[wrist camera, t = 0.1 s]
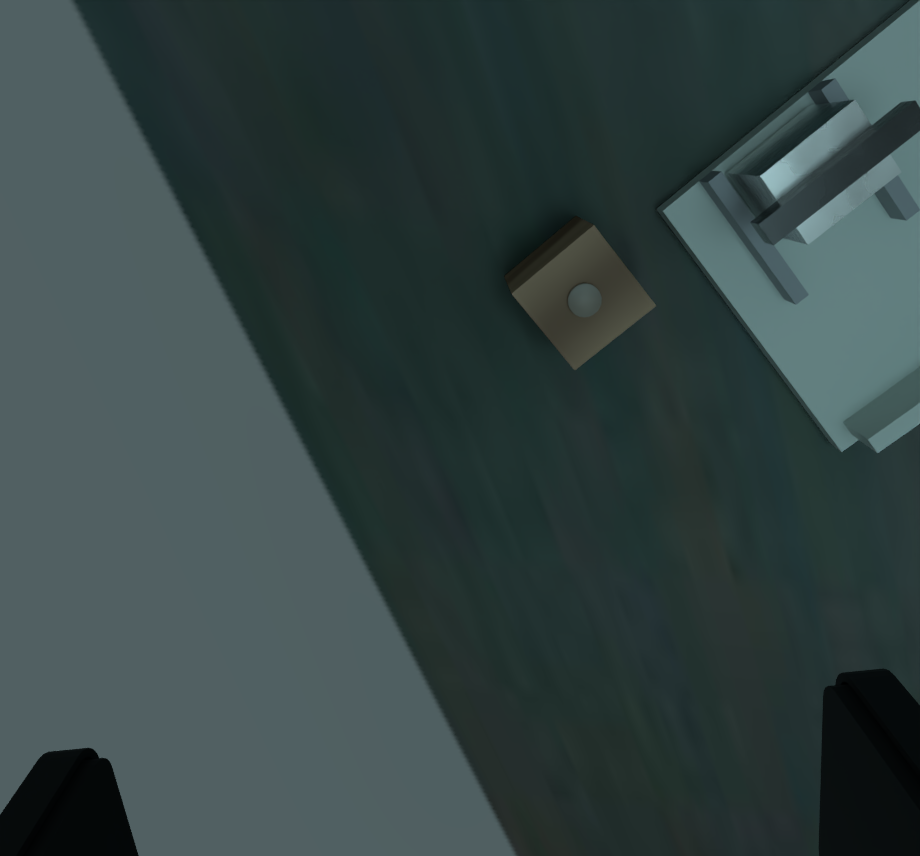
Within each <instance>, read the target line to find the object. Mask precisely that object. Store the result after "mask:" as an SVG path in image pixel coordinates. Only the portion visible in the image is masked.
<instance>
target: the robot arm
mask: <svg viewBox="0 0 920 856" xmlns="http://www.w3.org/2000/svg"><path fill="white" fill-rule="evenodd" d="M0 856H138V852H137V849H136V846H135V843H134V839H133V836H132V832H131V829H130V826H129V822H128V819H127V815H126V812H125V809H124V805H123V802H122V799H121V795H120V792H119V789H118V785H117V782H116V779H115V775H114V772H113V769H112V766H111V763H110V762H109V760H108V759H106V758H99V757H98V755H97V753H96V752H95V751H94V750H93V749H91V748H83V749H73V750H63V751H53V752H47V753H45V754H43V755H42V756H41V757H40V758H39V759H38V761H37V762H36V764H35V765H34V766H33V768H32V770H31V771H30V772H29V774H28V775H27V777H26V778H25V780H24V781H23V782H22V784H21V785H20V787H19V788H18V790H17V791H16V793H15V794H14V796H13V797H12V798H11V800H10V801H9V803H8V804H7V806H6V807H5V809H4V810H3V812H2V813H1V814H0ZM819 856H920V705H919V704H918V703H917V702H916V700H915V699H914V698H913V697H912V696H911V695H910V693H909V692H908V691H907V690H906V689H905V687H904V686H903V685H902V684H901V683H900V682H899V680H898V679H897V678H896V677H895V676H894V675H893V674H892V673H891V672H890V671H889V670H886V669H875V670H865V671H855V672H845V673H841V674H839V675H838V677H837V679H836V685H834V686H827V687H826V688H825V690H824V695H823V722H822V756H821V790H820V823H819Z"/></svg>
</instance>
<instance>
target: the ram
mask: <svg viewBox="0 0 920 856" xmlns="http://www.w3.org/2000/svg"><path fill="white" fill-rule="evenodd" d="M919 131H920V107H919V105H918V104H917V102H916V100H914V101H905V102H900V103H899V104H898V105H897V106H895V107H894V108H893V109H892V110H890V111H889V112H888V113H887V114H885V115H884V116H883V117H882V118H880V119H879V120H878V121H877V122H875V123H874V124H873V125H871V124H870V122H869V120H868V119H867V117H866V116H865V114H864V113H863V111H862V110H861V108H860V106H859V105H858V103H857V102H856V100H848V101H840V102H833V103H825V104H817V105H810V106H808V107H807V108H805V109H804V110H803V111H802V112H800V113H799V114H798V115H797V116H795V117H794V118H793V119H792V120H791V121H789V122H788V123H787V124H786V125H784V126H783V127H782V128H781V129H780V130H778V131H777V132H776V133H775V134H773V135H772V136H771V137H770V138H769V139H767V140H766V141H765V142H764V143H762V144H761V145H760V146H759V147H757V148H756V149H755V150H754V151H753V152H751V153H750V154H749V155H748V156H746V157H745V158H744V159H743V160H742V161H740V162H739V163H738V164H737V165H735V166H734V167H733V168H732V169H731V170H729V171H728V172H727V173H726V175H727V176H728V177H729V179H730V180H731V182H732V183H733V184H734V186H735V187H736V189H737V190H738V192H739V193H740V194H741V196H742V197H743V199H744V200H745V201H746V203H747V204H748V206H749V207H750V208H751V210H752V211H753V213H754V214H755V216H756V218H755V219H753V220H752V221H751V222H750V223H751V225H752V226H753V227H754V229H755V230H756V232H757V233H758V234H759V236H760V237H761V239H762V240H763V241H764V243H767V244H771V245H775V244H776V243H777V242H779V241H780V240H781V239H783V238H784V239H788V240H791V241H795V242H799V243H803V244H807V245H808V244H810V243H811V242H812V241H814V240H815V239H816V238H817V237H819V236H820V235H821V234H823V233H824V232H825V231H826V230H828V229H829V228H830V227H832V226H833V225H834V224H836V223H837V222H838V221H839V220H841V219H842V218H843V217H845V216H846V215H847V214H848V213H850V212H851V211H852V210H854V209H855V208H856V207H857V206H859V205H860V204H861V203H863V202H864V201H865V200H866V199H868V198H869V197H870V196H872V195H873V194H874V193H875V192H877V191H878V190H879V189H881V188H882V187H883V186H884V185H886V184H887V183H888V182H890V181H891V180H892V179H893V178H895V177H896V176H897V175H899V174H900V173H901V170H900V169H899V167H898V166H897V164H896V162H895V161H894V159H893V158H892V156H891V155H890V154H891V153H892V152H894V151H895V150H896V149H897V148H899V147H900V146H901V145H902V144H904V143H905V142H906V141H908V140H909V139H910V138H911V137H913V136H914V135H915V134H917V133H918V132H919Z"/></svg>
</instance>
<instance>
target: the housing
mask: <svg viewBox="0 0 920 856" xmlns="http://www.w3.org/2000/svg"><path fill="white" fill-rule="evenodd" d="M504 277H505V279H506V282H507V284H508V287H509V289H510V291H511V294H512V295H513V296H514V297H515V299H516V300H517V301H518V302H519V303H520V305H521V306H522V307H523V308H524V309H525V311H526V312H527V313H528V314H529V316H530V317H531V318H532V319H533V320H534V322H535V323H536V324H537V325H538V326H539V328H540V329H541V330H542V331H543V333H544V334H545V335H546V336H547V337H548V339H549V340H550V341H551V342H552V343H553V345H554V346H555V347H556V348H557V349H558V351H559V352H560V353H561V354H562V356H563V357H564V358H565V359H566V360H567V362H568V363H569V364H570V365H571V366H572V368H573V369H574V370H576V369H577V368H578V367H580V366H581V365H582V364H583V363H585V362H586V361H587V360H588V359H590V358H591V357H592V356H594V355H595V354H596V353H597V352H599V351H600V350H601V349H602V348H604V347H605V346H606V345H607V344H609V343H610V342H611V341H612V340H614V339H615V338H616V337H617V336H619V335H620V334H621V333H623V332H624V331H625V330H626V329H628V328H629V327H630V326H631V325H633V324H634V323H635V322H636V321H638V320H639V319H640V318H641V317H643V316H644V315H645V314H646V313H648V312H649V311H650V310H652V309H653V308H654V307H655V306H656V305H655V303H654V302H653V301H652V300H651V298H650V297H649V296H648V294H647V293H646V292H645V291H644V289H643V288H642V287H641V285H640V284H639V283H638V281H637V280H636V279H635V278H634V276H633V275H632V274H631V272H630V271H629V270H628V269H627V267H626V266H625V265H624V263H623V262H622V261H621V259H620V258H619V257H618V256H617V254H616V253H615V252H614V250H613V249H612V248H611V246H610V245H609V244H608V243H607V241H606V240H605V239H604V237H603V236H602V235H601V234H600V232H599V231H598V230H597V228H596V227H595V226H594V225H593V224H591V223H589V222H587V221H585V220H583V219H581V218H579V217H577V216H575V217H574V218H573V219H572V220H570V221H569V222H568V223H567V224H566V225H564V226H563V227H562V228H561V229H560V230H558V231H557V232H556V233H555V234H554V235H553V236H551V237H550V238H549V239H548V240H547V241H545V242H544V243H543V244H542V245H541V246H539V247H538V248H537V249H536V250H535V251H533V252H532V253H531V254H530V255H529V256H528V257H526V258H525V259H524V260H523V261H522V262H520V263H519V264H518V265H517V266H516V267H514V268H513V269H512V270H511V271H510V272H508V273H507V274H506V275H505V276H504Z"/></svg>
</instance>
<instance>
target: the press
mask: <svg viewBox="0 0 920 856" xmlns="http://www.w3.org/2000/svg"><path fill="white" fill-rule="evenodd" d="M848 100H856V102H857V103H858V105H859V106H860V108H861V110H862V111H863V113H864V114H865V116H866V117H867V119H868V120H869V122H870V124H871V125H873V124H874V123H875V122H877V121H878V120H879V119H880V118H882V117H883V116H884V115H885V114H887V113H888V112H889V111H890V110H892V109H893V108H894V107H895V106H897V105H898V104H899V103H900V102H905V101H914V100H916V102H917V104H918V105H919V107H920V0H910V1H909V2H908V3H906V4H905V5H904V6H903V7H901V8H900V9H899V10H898V11H897V12H895V13H894V14H893V15H892V16H890V17H889V18H888V19H887V20H886V21H884V22H883V23H882V24H881V25H880V26H878V27H877V28H876V29H875V30H873V31H872V32H871V33H870V34H869V35H867V36H866V37H865V38H864V39H862V40H861V41H860V42H859V43H858V44H856V45H855V46H854V47H853V48H852V49H850V50H849V51H848V52H847V53H845V54H844V55H843V56H842V57H841V58H839V59H838V60H837V61H836V62H835V63H833V64H832V65H831V66H830V67H828V68H827V69H826V70H825V71H824V72H822V73H821V74H820V75H819V76H817V77H816V78H815V79H814V80H813V81H811V82H810V83H809V84H808V85H807V86H805V87H804V88H803V89H802V90H800V91H799V92H798V93H797V94H796V95H794V96H793V97H792V98H791V99H789V100H788V101H787V102H786V103H785V104H783V105H782V106H781V107H780V108H779V109H777V110H776V111H775V112H774V113H772V114H771V115H770V116H769V117H768V118H766V119H765V120H764V121H763V122H762V123H760V124H759V125H758V126H757V127H755V128H754V129H753V130H752V131H751V132H749V133H748V134H747V135H746V136H744V137H743V138H742V139H741V140H740V141H738V142H737V143H736V144H735V145H734V146H732V147H731V148H730V149H729V150H727V151H726V152H725V153H724V154H723V155H721V156H720V157H719V158H718V159H716V160H715V161H714V162H713V163H712V164H710V165H709V166H708V167H707V168H706V169H704V170H703V171H702V172H701V173H699V174H698V175H697V176H696V177H695V178H693V179H692V180H691V181H690V182H689V183H687V184H686V185H685V186H684V187H682V188H681V189H680V190H679V191H678V192H676V193H675V194H674V195H673V196H671V197H670V198H669V199H668V200H667V201H665V202H664V203H663V204H662V205H661V206H659V207H658V208H657V209H656V210H657V211H658V212H659V214H660V215H661V216H662V218H663V219H664V221H665V222H666V223H667V225H668V226H669V227H670V229H671V230H672V231H673V233H674V234H675V235H676V237H677V238H678V239H679V241H680V242H681V243H682V245H683V246H684V247H685V249H686V250H687V251H688V253H689V254H690V255H691V257H692V258H693V259H694V261H695V262H696V264H697V265H698V266H699V268H700V269H701V270H702V272H703V273H704V274H705V276H706V277H707V278H708V280H709V281H710V282H711V284H712V285H713V286H714V288H715V289H716V290H717V292H718V293H719V294H720V296H721V297H722V298H723V300H724V301H725V302H726V304H727V305H728V306H729V308H730V309H731V311H732V312H733V313H734V315H735V316H736V317H737V319H738V320H739V321H740V323H741V324H742V325H743V327H744V328H745V329H746V331H747V332H748V333H749V335H750V336H751V337H752V339H753V340H754V341H755V343H756V344H757V345H758V347H759V348H760V349H761V351H762V352H763V353H764V355H765V356H766V358H767V359H768V360H769V362H770V363H771V364H772V366H773V367H774V368H775V370H776V371H777V372H778V374H779V375H780V376H781V378H782V379H783V380H784V382H785V383H786V384H787V386H788V387H789V388H790V390H791V391H792V392H793V394H794V395H795V396H796V398H797V399H798V401H799V402H800V403H801V405H802V406H803V407H804V409H805V410H806V411H807V413H808V414H809V415H810V417H811V418H812V419H813V421H814V422H815V423H816V425H817V426H818V427H819V429H820V430H821V431H822V433H823V434H824V435H825V437H826V438H827V439H828V441H829V442H830V443H831V444H832V445H833V446H835V447H836V448H837V449H838V450H840V451H841V452H842V451H844V450H845V449H846V448H848V447H849V446H851V445H852V444H854V443H855V442H856V441H858V440H860V441H861V442H863V443H864V444H866V445H867V446H868V447H870V448H871V449H873V450H874V451H875V452H877V453H879V452H880V451H881V450H883V449H884V448H886V447H887V446H889V445H890V444H891V443H893V442H894V441H896V440H897V439H898V438H900V437H901V436H903V435H904V434H906V433H907V432H908V431H910V430H911V429H913V428H914V427H916V426H917V425H918V424H920V131H919V132H918V133H917V134H915V135H914V136H913V137H911V138H910V139H909V140H908V141H906V142H905V143H904V144H902V145H901V146H900V147H899V148H897V149H896V150H895V151H894V152H892V153H891V154H890V155H891V156H892V158H893V159H894V161H895V162H896V164H897V166H898V167H899V169H900V170H901V173H900V174H899V175H897V176H896V177H895V178H893V179H892V180H891V181H890V182H888V183H887V184H886V185H884V186H883V187H882V188H881V189H879V190H878V191H877V192H875V193H874V194H873V195H872V196H870V197H869V198H868V199H866V200H865V201H864V202H863V203H861V204H860V205H859V206H857V207H856V208H855V209H854V210H852V211H851V212H850V213H848V214H847V215H846V216H845V217H843V218H842V219H841V220H839V221H838V222H837V223H836V224H834V225H833V226H832V227H830V228H829V229H828V230H826V231H825V232H824V233H823V234H821V235H820V236H819V237H817V238H816V239H815V240H814V241H812V242H811V243H810V244H808V245H807V244H803V243H799V242H795V241H791V240H788V239H784V238H783V239H781V240H780V241H779V242H777V243H776V244H775V245H771V244H767V243H764V241H763V240H762V239H761V237H760V236H759V234H758V233H757V232H756V230H755V229H754V227H753V226H752V225H751V223H750V222H751V221H752V220H753V219H755V218H756V216H755V214H754V213H753V211H752V210H751V208H750V207H749V206H748V204H747V203H746V201H745V200H744V199H743V197H742V196H741V194H740V193H739V192H738V190H737V189H736V187H735V186H734V184H733V183H732V182H731V180H730V179H729V177H728V176H727V175H726V173H727V172H728V171H729V170H731V169H732V168H733V167H734V166H735V165H737V164H738V163H739V162H740V161H742V160H743V159H744V158H745V157H746V156H748V155H749V154H750V153H751V152H753V151H754V150H755V149H756V148H757V147H759V146H760V145H761V144H762V143H764V142H765V141H766V140H767V139H769V138H770V137H771V136H772V135H773V134H775V133H776V132H777V131H778V130H780V129H781V128H782V127H783V126H784V125H786V124H787V123H788V122H789V121H791V120H792V119H793V118H794V117H795V116H797V115H798V114H799V113H800V112H802V111H803V110H804V109H805V108H807V107H808V106H810V105H817V104H825V103H833V102H840V101H848Z"/></svg>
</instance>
